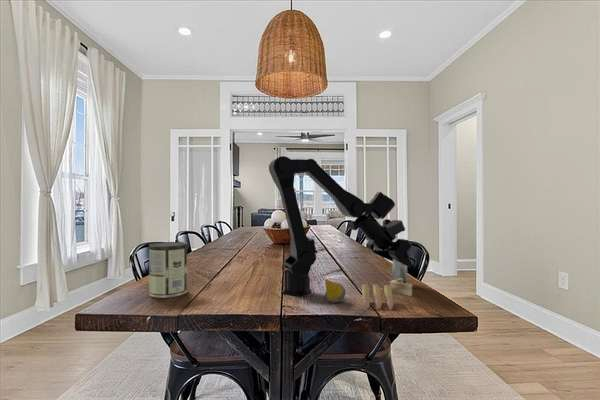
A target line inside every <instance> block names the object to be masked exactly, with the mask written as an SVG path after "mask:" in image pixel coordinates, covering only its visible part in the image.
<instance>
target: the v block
mask: <svg viewBox="0 0 600 400" xmlns="http://www.w3.org/2000/svg"><path fill="white" fill-rule="evenodd" d="M389 285H390V287H391V288H392V294H398V295H402V296H409V297H411V296H413V284H411V283H410V284H409V283H407V284H406V283H403V279H402V278H398V279H395V280H393V279H391V280H389Z"/></svg>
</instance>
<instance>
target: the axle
mask: <svg viewBox="0 0 600 400" xmlns="http://www.w3.org/2000/svg"><path fill="white" fill-rule="evenodd" d="M398 278H402V279H403V283H406V284H408V266H406V265H404V264H402V263H400V262H398V261H396V260H394V259H393V262H392V280H395V279H398Z"/></svg>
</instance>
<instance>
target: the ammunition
mask: <svg viewBox="0 0 600 400" xmlns="http://www.w3.org/2000/svg"><path fill="white" fill-rule="evenodd" d="M372 286H373V287H372V292H373V294H372V295H373V296H372V297H373V302H374V304H375V307H376V309H377V310H381V309H382V306H383V305H382V304H383V302H382V298H381V297H382V296H381V295H382V294H381V293H382V291H381V286H380V285H379V284H372ZM361 291H362V293H361V296H362V301H363V307H364V308H365V309H366V310H368V309H370V306H371V305H370V304H371V299H370V287H369V284H368V283H367V284H366V283H363V284H361ZM383 291H384V292H383V294H384V301H385V303H386V305H387V307H388V309H389V311H390V310H391V311H392V310H393V308H394V299H393V293H392V288H391V287H390V284H385V285H383Z"/></svg>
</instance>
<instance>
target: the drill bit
mask: <svg viewBox="0 0 600 400" xmlns="http://www.w3.org/2000/svg"><path fill="white" fill-rule="evenodd" d="M324 282H325V289H326V290H325V296H324V297H325V298H326V300H327V301H328V302H329V303H331V304H338V303H340V302H342V301H343V300H344V298H345V296H346V288H345V287H344V286H343V285H342V284H341V283H336V282H333V281H331V280H329V279H327V278H326V279H324Z"/></svg>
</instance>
